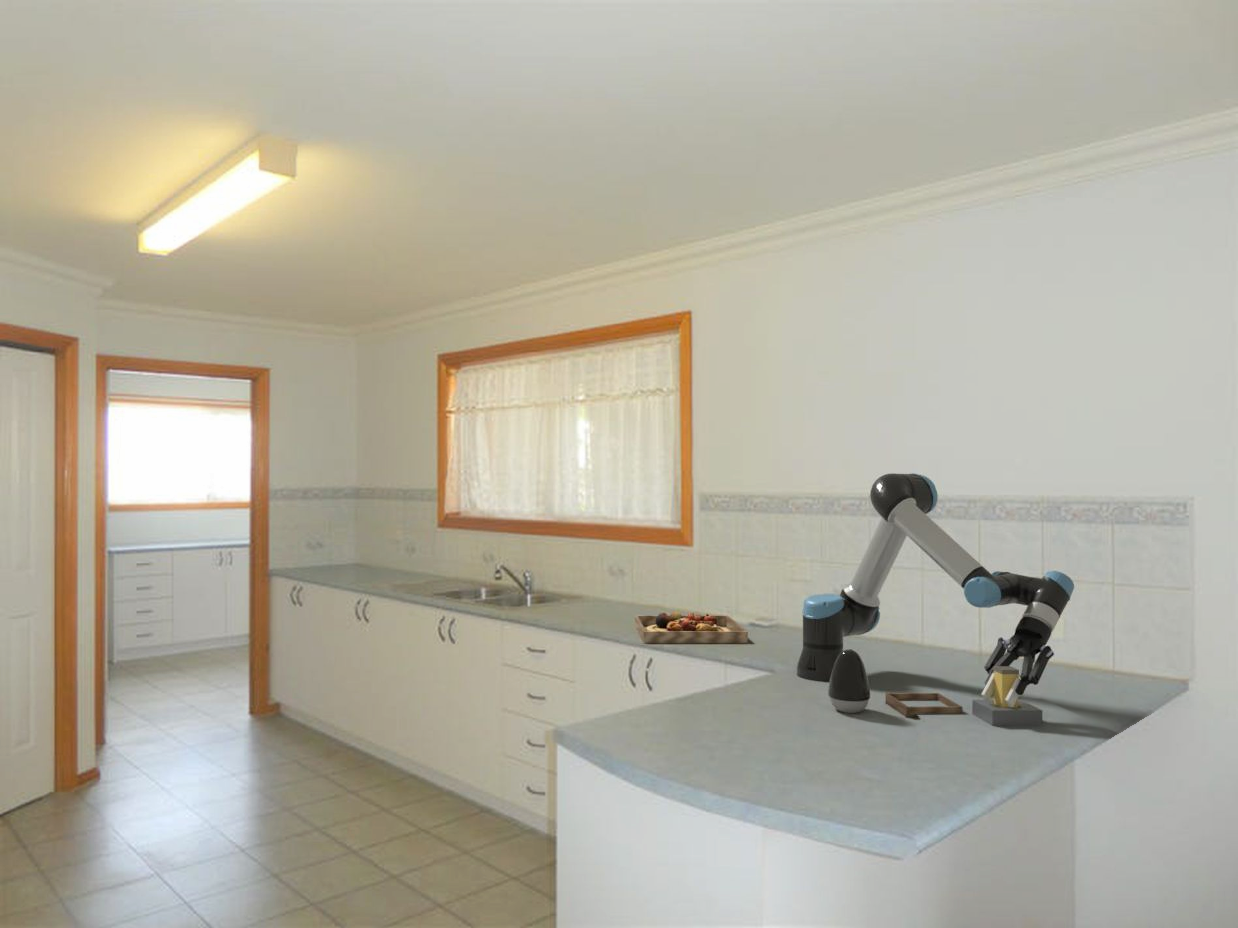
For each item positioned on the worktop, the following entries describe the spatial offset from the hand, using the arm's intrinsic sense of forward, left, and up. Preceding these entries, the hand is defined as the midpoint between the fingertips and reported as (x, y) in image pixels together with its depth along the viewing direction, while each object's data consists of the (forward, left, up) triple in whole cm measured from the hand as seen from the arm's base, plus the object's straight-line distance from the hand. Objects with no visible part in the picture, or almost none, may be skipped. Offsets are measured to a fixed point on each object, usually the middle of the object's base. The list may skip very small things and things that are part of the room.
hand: (996, 700), depth 207 cm
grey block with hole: (+3, +2, -6) cm, 7 cm away
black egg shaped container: (-31, +15, -6) cm, 35 cm away
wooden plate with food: (-56, +124, -7) cm, 136 cm away
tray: (-12, +15, -6) cm, 20 cm away
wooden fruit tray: (-56, +124, -6) cm, 136 cm away
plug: (+3, +2, -5) cm, 6 cm away
